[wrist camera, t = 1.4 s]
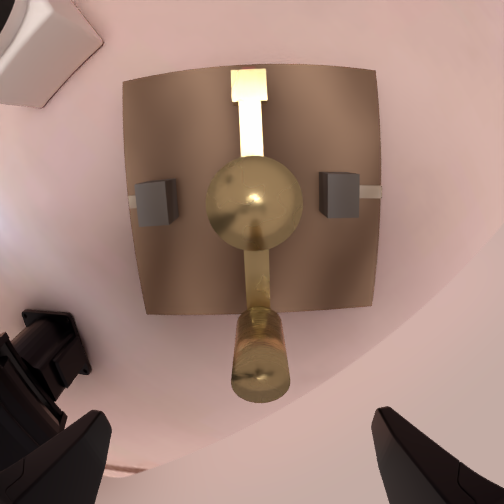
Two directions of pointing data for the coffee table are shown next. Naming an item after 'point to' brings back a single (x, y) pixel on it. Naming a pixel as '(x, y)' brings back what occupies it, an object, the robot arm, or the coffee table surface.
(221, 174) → the crank handle
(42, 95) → the medicine bottle
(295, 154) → the post base
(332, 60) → the coffee table surface
